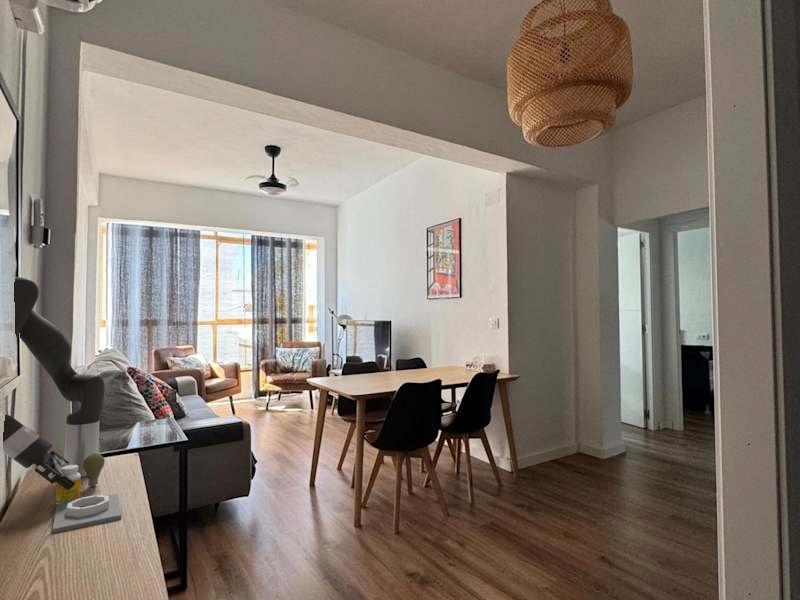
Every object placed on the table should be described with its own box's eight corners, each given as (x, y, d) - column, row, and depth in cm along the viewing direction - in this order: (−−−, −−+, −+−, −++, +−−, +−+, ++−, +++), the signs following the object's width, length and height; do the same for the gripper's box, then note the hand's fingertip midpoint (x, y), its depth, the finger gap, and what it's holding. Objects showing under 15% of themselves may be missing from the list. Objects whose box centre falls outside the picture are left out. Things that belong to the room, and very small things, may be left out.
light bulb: (77, 487, 134) (79, 454, 135) (97, 482, 139) (98, 450, 140) (87, 491, 132) (89, 457, 133) (107, 485, 137) (108, 452, 137)
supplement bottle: (59, 507, 120) (61, 471, 121) (53, 502, 123) (55, 467, 124) (82, 501, 124) (84, 466, 125) (75, 496, 127) (77, 462, 128)
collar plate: (56, 508, 119) (57, 496, 119) (117, 497, 127) (117, 486, 128) (52, 533, 105) (53, 520, 105) (121, 518, 113) (121, 506, 113)
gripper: (32, 441, 115) (83, 478, 120) (43, 430, 128) (89, 464, 132) (4, 464, 112) (57, 502, 117) (19, 451, 125) (66, 485, 129)
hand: (74, 482), depth 125 cm, fingers open, 8 cm apart
